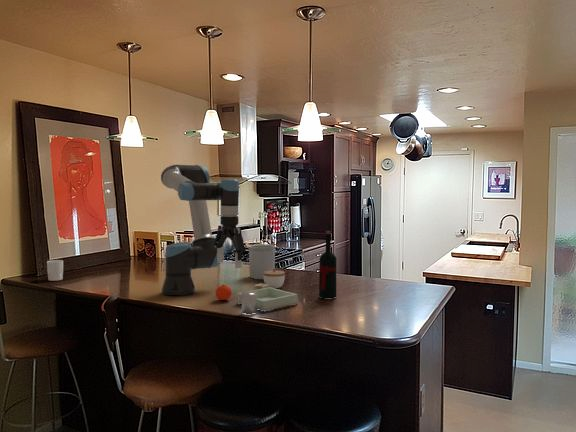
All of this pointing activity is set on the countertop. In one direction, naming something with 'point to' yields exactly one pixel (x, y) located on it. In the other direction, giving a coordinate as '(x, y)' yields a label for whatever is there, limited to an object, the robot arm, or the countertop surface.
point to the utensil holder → (261, 259)
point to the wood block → (260, 286)
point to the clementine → (223, 292)
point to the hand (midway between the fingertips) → (229, 265)
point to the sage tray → (272, 298)
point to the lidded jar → (274, 278)
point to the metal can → (249, 302)
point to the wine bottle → (327, 271)
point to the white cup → (55, 270)
